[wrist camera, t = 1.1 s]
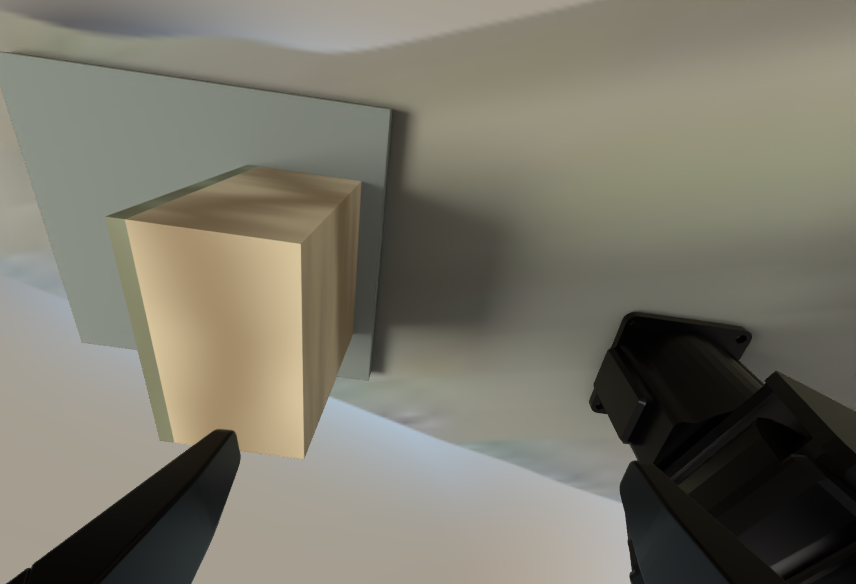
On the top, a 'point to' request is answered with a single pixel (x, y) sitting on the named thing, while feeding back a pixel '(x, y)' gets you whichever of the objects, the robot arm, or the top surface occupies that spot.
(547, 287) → the top surface
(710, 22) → the top surface
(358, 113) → the slate mat
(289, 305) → the tile block
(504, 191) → the top surface
